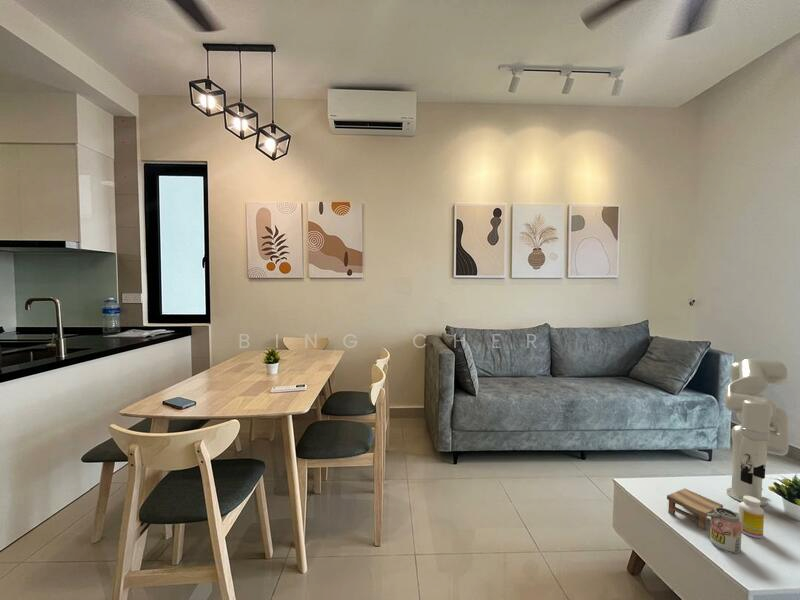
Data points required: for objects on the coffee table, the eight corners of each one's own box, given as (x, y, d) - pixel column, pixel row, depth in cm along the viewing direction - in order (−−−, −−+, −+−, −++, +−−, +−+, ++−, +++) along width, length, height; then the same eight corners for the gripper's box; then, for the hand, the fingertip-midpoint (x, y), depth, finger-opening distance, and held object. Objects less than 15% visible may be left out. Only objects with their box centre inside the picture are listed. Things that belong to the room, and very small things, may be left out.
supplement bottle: (768, 540, 132) (769, 505, 131) (746, 537, 133) (748, 502, 133) (754, 528, 138) (755, 495, 138) (733, 525, 140) (735, 492, 139)
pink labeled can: (700, 536, 133) (701, 504, 132) (721, 535, 134) (722, 503, 133) (725, 555, 124) (727, 520, 123) (747, 553, 124) (749, 519, 124)
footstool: (684, 504, 153) (684, 488, 153) (722, 522, 141) (723, 505, 141) (666, 512, 147) (666, 495, 147) (704, 531, 135) (705, 513, 135)
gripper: (752, 427, 142) (750, 470, 142) (730, 434, 134) (728, 479, 135) (779, 434, 135) (776, 479, 135) (757, 441, 127) (755, 489, 128)
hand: (752, 479), depth 135 cm, fingers open, 9 cm apart
